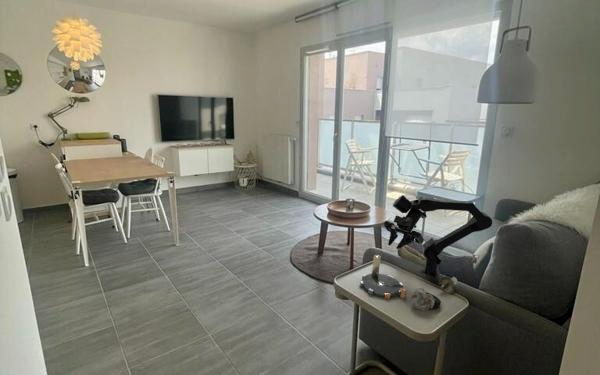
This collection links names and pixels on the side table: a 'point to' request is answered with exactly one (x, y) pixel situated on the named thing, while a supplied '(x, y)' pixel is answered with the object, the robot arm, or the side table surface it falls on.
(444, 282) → the eagle figurine
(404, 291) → the index pointer
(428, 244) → the robot arm
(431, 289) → the side table surface
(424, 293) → the grey rock
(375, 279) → the grey base with rod
